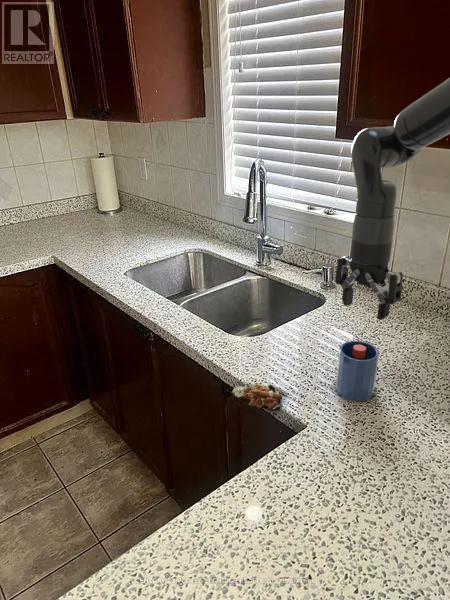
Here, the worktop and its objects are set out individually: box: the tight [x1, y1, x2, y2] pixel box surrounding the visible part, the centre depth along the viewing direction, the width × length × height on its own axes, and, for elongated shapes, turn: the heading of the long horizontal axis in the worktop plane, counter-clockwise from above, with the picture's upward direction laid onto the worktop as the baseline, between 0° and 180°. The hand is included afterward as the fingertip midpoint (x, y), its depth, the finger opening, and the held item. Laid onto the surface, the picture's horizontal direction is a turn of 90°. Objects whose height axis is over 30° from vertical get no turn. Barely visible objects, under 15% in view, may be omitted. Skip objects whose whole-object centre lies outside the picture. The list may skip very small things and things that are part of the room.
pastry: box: [232, 382, 287, 410], centre depth 100 cm, size 7×12×4 cm, turn 68°
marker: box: [352, 345, 366, 360], centre depth 99 cm, size 3×3×11 cm
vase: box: [335, 340, 380, 402], centre depth 100 cm, size 8×8×11 cm
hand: (364, 311), depth 93 cm, fingers open, 8 cm apart
